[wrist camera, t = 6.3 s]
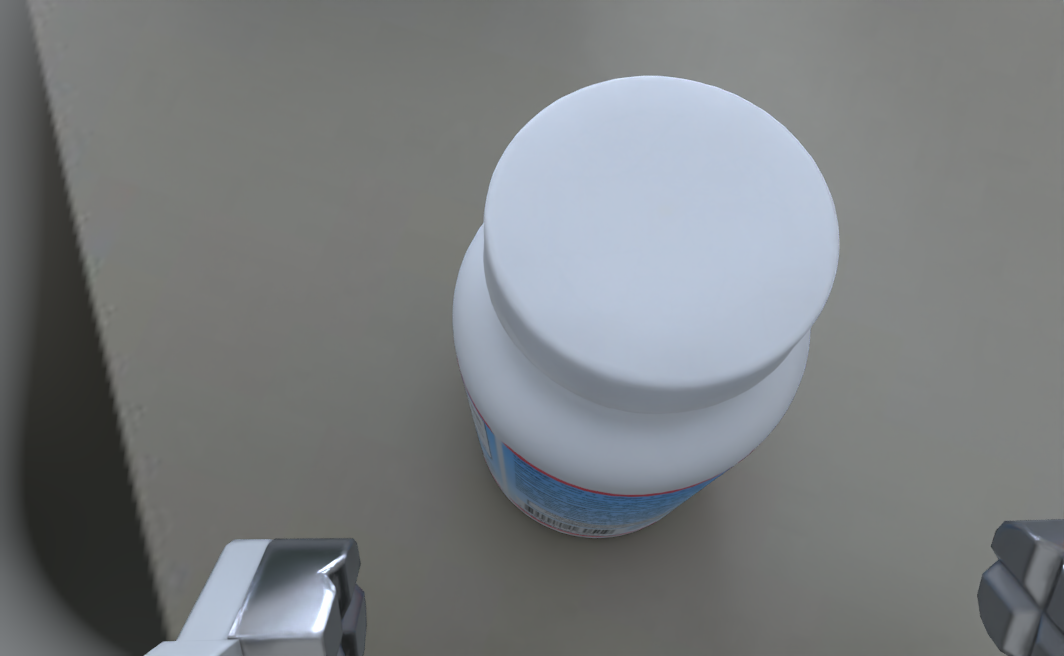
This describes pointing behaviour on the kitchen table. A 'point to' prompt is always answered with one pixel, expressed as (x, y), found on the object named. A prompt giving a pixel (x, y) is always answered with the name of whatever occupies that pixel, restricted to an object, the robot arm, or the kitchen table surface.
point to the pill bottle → (639, 299)
